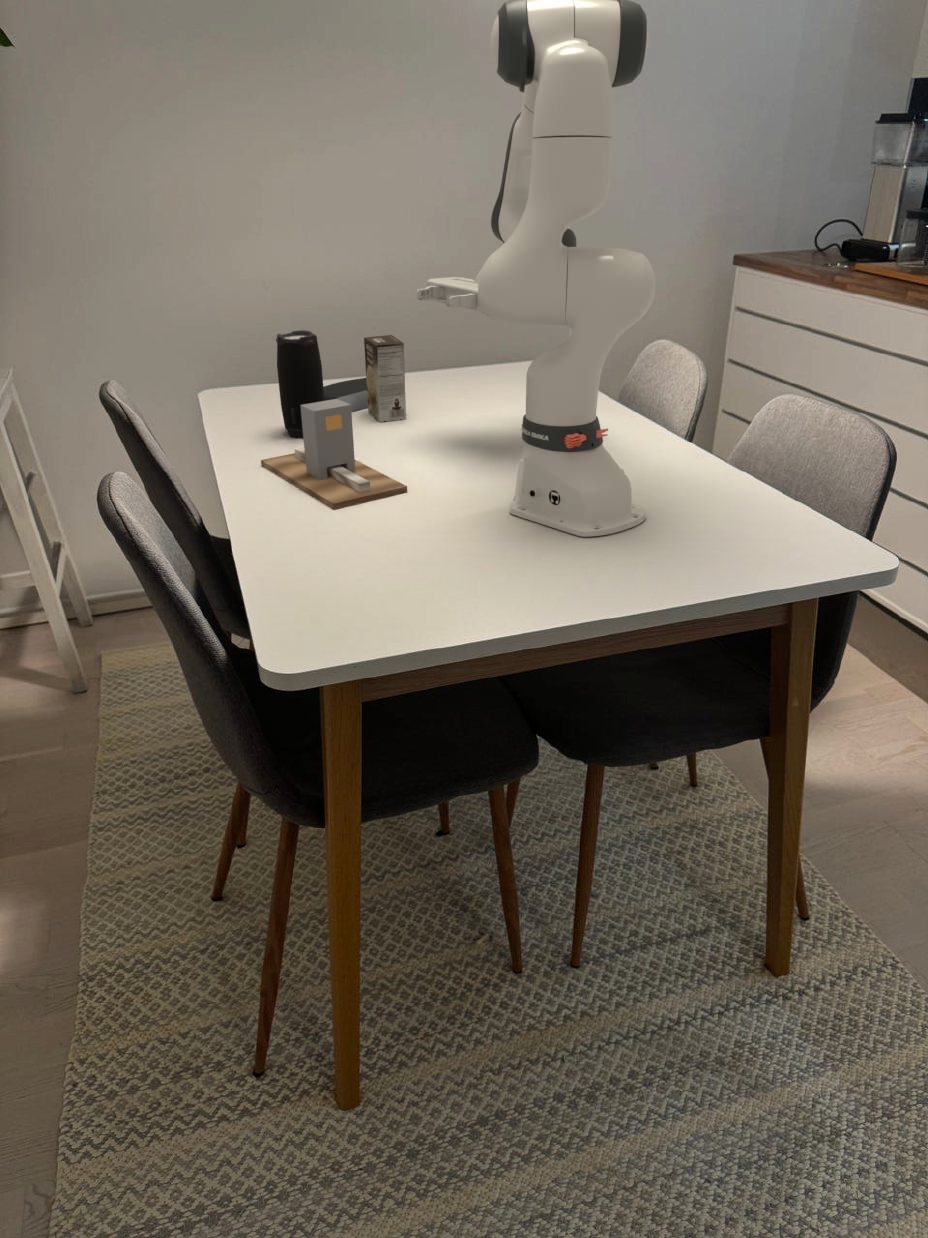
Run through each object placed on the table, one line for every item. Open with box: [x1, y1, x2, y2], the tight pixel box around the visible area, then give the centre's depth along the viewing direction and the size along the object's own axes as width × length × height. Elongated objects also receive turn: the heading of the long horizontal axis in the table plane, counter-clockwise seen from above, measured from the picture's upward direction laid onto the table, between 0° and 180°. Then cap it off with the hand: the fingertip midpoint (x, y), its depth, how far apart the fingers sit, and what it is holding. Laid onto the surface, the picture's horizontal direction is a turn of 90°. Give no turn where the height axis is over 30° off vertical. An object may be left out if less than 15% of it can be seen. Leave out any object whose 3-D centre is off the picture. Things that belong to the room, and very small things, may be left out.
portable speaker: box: [275, 329, 324, 439], centre depth 182 cm, size 9×9×20 cm
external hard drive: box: [323, 377, 368, 413], centre depth 208 cm, size 13×19×4 cm
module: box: [300, 399, 356, 480], centre depth 159 cm, size 5×7×12 cm
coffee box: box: [363, 334, 407, 423], centre depth 194 cm, size 9×6×16 cm
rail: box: [260, 446, 408, 510], centre depth 162 cm, size 28×14×2 cm, turn 35°
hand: (433, 298), depth 162 cm, fingers open, 8 cm apart
